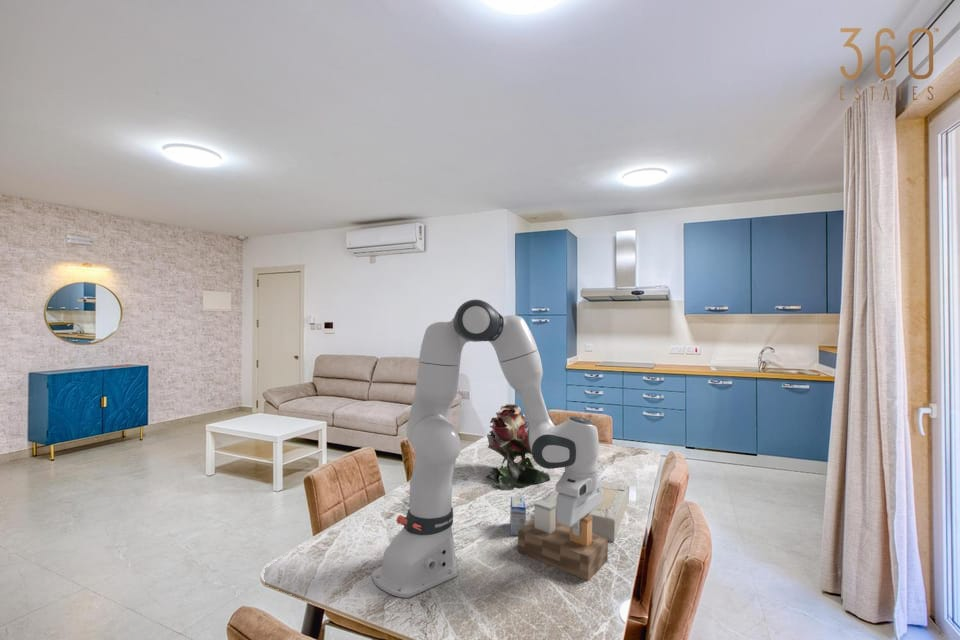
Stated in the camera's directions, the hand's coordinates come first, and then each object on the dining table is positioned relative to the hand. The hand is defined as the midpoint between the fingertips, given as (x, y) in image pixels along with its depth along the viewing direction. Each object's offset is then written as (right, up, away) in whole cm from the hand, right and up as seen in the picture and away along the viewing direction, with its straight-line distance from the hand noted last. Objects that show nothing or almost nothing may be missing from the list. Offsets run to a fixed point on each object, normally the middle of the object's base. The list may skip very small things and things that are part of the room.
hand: (580, 531), depth 116 cm
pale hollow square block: (+9, -10, +31) cm, 33 cm away
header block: (-4, -9, +3) cm, 10 cm away
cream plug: (-9, -6, +7) cm, 13 cm away
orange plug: (0, -6, 0) cm, 6 cm away
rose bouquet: (-12, -9, +66) cm, 68 cm away
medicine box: (-15, -9, +19) cm, 26 cm away
